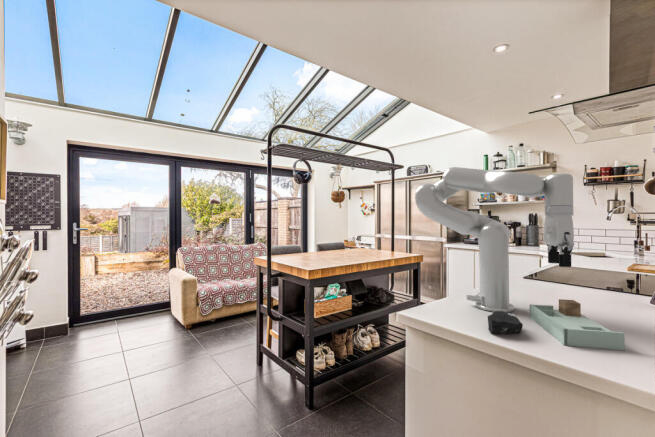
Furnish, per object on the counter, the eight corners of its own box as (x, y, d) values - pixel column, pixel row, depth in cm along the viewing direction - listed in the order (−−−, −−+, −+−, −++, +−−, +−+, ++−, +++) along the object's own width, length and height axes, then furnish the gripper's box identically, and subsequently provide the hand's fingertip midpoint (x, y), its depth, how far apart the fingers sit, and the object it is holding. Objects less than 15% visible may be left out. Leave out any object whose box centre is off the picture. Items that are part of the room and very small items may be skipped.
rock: (480, 324, 93) (480, 306, 93) (511, 325, 92) (511, 306, 92) (492, 337, 83) (492, 317, 83) (527, 339, 82) (527, 318, 82)
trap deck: (563, 345, 77) (563, 329, 77) (529, 317, 98) (529, 304, 98) (624, 350, 74) (624, 333, 74) (575, 320, 95) (575, 306, 95)
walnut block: (565, 315, 91) (565, 302, 91) (558, 311, 95) (558, 299, 95) (580, 316, 90) (580, 303, 90) (573, 312, 94) (573, 300, 93)
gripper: (534, 211, 107) (535, 260, 107) (558, 211, 90) (559, 269, 90) (558, 211, 105) (559, 261, 105) (587, 210, 88) (588, 270, 88)
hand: (559, 264), depth 98 cm, fingers open, 6 cm apart
